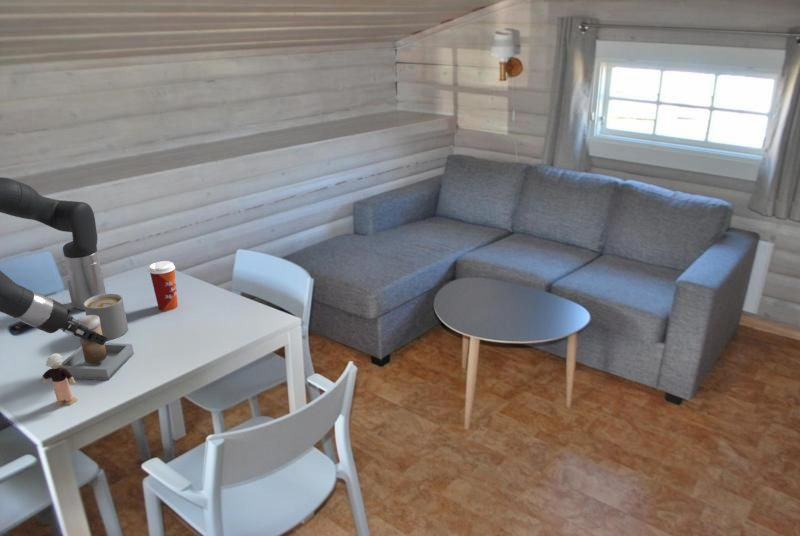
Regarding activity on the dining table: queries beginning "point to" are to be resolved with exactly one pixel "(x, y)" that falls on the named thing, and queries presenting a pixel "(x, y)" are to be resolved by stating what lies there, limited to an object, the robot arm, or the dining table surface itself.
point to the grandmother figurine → (59, 380)
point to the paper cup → (164, 284)
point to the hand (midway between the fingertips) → (99, 338)
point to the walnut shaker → (92, 349)
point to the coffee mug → (108, 314)
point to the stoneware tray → (102, 369)
